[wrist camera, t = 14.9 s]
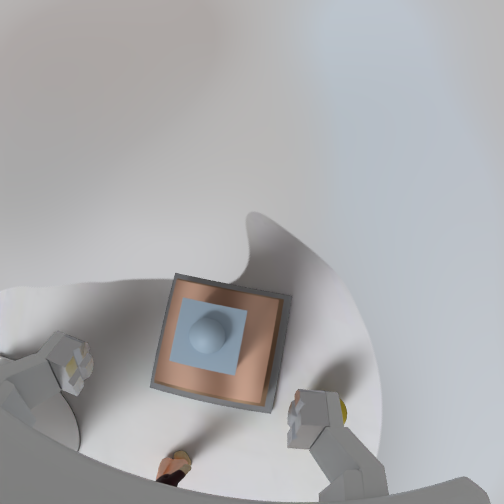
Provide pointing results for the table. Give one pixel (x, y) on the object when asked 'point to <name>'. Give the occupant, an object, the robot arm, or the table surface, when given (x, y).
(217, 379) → the terracotta brick
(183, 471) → the grandmother figurine
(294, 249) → the table surface
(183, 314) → the blue knobbed block
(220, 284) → the baseplate
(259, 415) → the table surface
